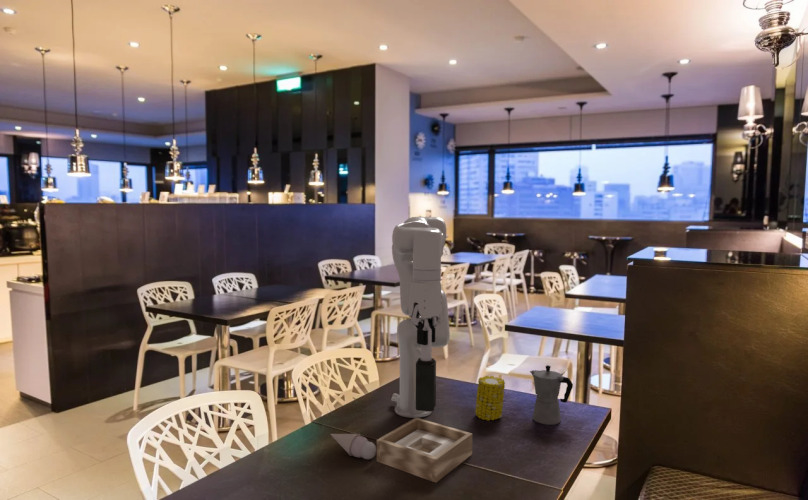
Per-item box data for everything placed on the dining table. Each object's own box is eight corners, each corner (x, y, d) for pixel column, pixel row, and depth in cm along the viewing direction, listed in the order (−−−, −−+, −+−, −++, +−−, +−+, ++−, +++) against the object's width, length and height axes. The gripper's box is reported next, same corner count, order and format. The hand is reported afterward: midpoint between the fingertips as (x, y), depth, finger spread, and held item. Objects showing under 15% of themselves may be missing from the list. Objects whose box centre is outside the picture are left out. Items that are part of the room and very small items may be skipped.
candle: (433, 411, 141) (434, 319, 139) (414, 410, 142) (415, 319, 140) (436, 404, 146) (437, 316, 144) (418, 403, 147) (418, 315, 145)
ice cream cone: (328, 447, 151) (373, 467, 145) (320, 441, 146) (366, 461, 140) (338, 426, 154) (382, 445, 148) (331, 420, 149) (376, 439, 143)
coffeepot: (521, 417, 174) (522, 363, 173) (537, 409, 180) (538, 358, 179) (563, 431, 163) (565, 374, 161) (578, 423, 169) (580, 368, 168)
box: (376, 461, 143) (376, 439, 143) (416, 436, 159) (416, 417, 158) (435, 482, 132) (436, 459, 132) (472, 454, 148) (472, 433, 147)
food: (487, 413, 180) (506, 424, 173) (463, 413, 174) (483, 424, 167) (496, 373, 181) (516, 382, 173) (473, 371, 174) (492, 380, 167)
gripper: (431, 271, 150) (430, 335, 152) (397, 277, 137) (397, 347, 138) (454, 273, 146) (453, 339, 147) (421, 280, 133) (420, 351, 134)
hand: (426, 342), depth 143 cm, fingers closed on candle, 3 cm apart
